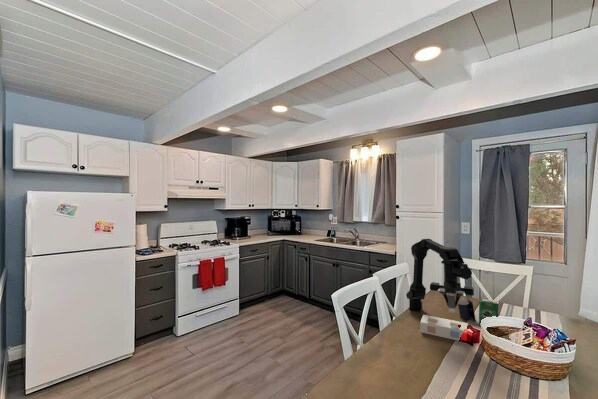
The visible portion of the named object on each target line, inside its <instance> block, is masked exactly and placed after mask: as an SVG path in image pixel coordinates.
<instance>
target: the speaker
mask: <svg viewBox="0 0 598 399" xmlns="http://www.w3.org/2000/svg"><path fill="white" fill-rule="evenodd" d="M457 306H458V312H459V317H460V319H462V320H470V319H472V320H473V321H474V322H476V321H477V320H476V314H475V308H474V303H473V301H472V300H471V299H469V298H467V300H460V301H459V300H458V303H457Z"/></svg>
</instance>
